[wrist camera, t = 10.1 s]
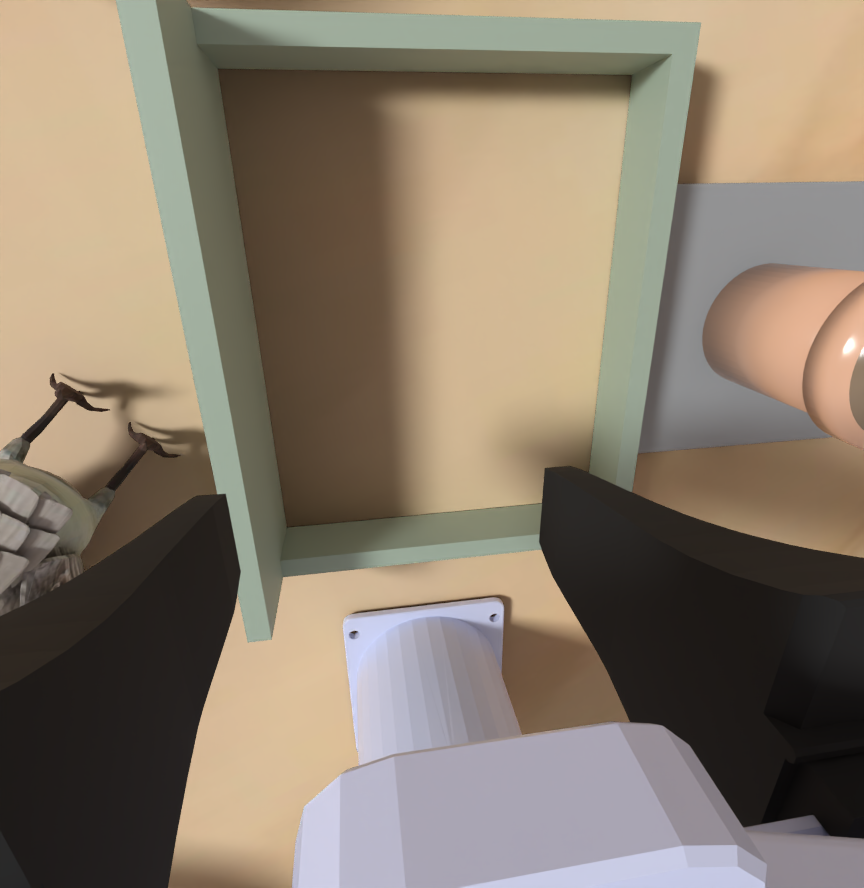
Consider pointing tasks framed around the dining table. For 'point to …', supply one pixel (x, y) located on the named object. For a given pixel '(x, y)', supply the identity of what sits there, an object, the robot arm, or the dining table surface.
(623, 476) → the frame
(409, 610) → the robot arm
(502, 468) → the dining table surface
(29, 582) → the decorative bird
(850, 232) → the slate mat
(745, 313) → the terracotta pot
